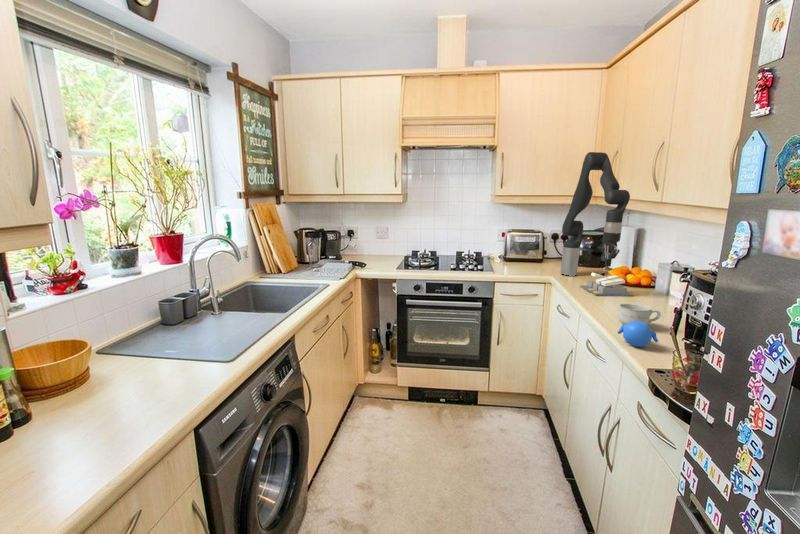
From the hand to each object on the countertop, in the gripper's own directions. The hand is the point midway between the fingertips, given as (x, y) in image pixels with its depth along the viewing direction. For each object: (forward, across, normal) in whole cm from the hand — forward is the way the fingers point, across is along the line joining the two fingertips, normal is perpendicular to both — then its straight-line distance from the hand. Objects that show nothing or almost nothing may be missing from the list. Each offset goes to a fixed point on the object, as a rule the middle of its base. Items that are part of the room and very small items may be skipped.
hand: (607, 266), depth 193 cm
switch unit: (+15, -5, +4) cm, 16 cm away
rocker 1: (+9, -11, +4) cm, 14 cm away
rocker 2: (+9, -5, +4) cm, 11 cm away
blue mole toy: (+14, +63, -22) cm, 69 cm away
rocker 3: (+9, 0, +4) cm, 9 cm away
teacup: (+14, +46, -12) cm, 50 cm away
